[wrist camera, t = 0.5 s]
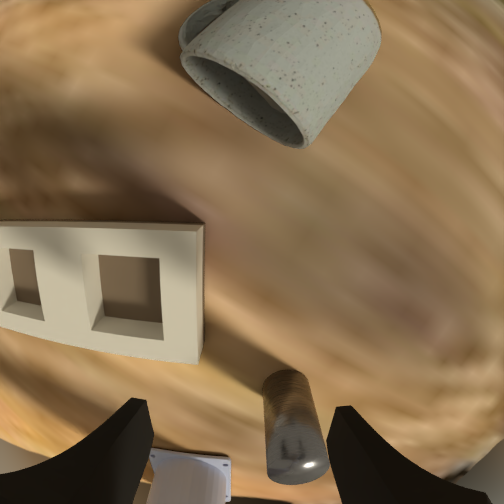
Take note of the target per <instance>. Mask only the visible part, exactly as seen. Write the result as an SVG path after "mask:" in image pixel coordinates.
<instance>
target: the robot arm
mask: <svg viewBox="0 0 504 504" xmlns="http://www.w3.org/2000/svg"><path fill="white" fill-rule="evenodd" d="M153 437H154V432H153V428H152V424H151V419H150V415H149V411H148V406H147V401H146V400H143V399H137V398H130V399H129V400H128V401H127V402H126V403H125V404H124V405H123V406H122V407H121V408H120V409H118V410H117V411H116V412H115V413H114V414H113V415H112V416H111V417H110V418H109V419H107V420H106V421H105V422H104V423H103V424H102V425H100V426H99V427H98V428H97V429H96V430H94V431H93V432H92V433H91V434H89V435H88V436H87V437H85V438H84V439H83V440H81V441H80V442H78V443H77V444H76V445H74V446H72V447H71V448H69V449H68V450H66V451H64V452H63V453H61V454H59V455H57V456H55V457H53V458H51V459H49V460H46V461H44V462H42V463H40V464H37V465H34V466H32V467H29V468H25V469H22V470H19V471H15V472H10V473H5V474H0V504H132V503H133V500H134V497H135V494H136V491H137V488H138V486H139V483H140V480H141V477H142V475H143V472H144V469H145V466H146V464H147V461H148V458H149V459H150V462H151V465H152V468H153V471H154V474H155V475H154V478H153V482H152V486H151V489H150V492H149V496H148V500H147V503H146V504H225V502H228V501H230V500H231V459H230V458H229V457H222V456H209V455H199V454H190V453H183V452H175V451H169V450H163V449H157V448H151V447H152V442H153ZM326 441H327V448H328V455H329V461H330V464H331V468H332V471H333V475H334V478H335V481H336V484H337V488H338V491H339V494H340V498H341V501H342V504H492V503H491V501H490V499H489V498H488V496H487V495H486V493H484V492H480V491H476V490H472V489H468V488H464V487H461V486H459V485H456V484H453V483H450V482H448V481H446V480H443V479H441V478H439V477H437V476H435V475H433V474H431V473H429V472H427V471H426V470H424V469H422V468H421V467H419V466H418V465H416V464H415V463H413V462H411V461H410V460H409V459H407V458H406V457H404V456H403V455H402V454H401V453H399V452H398V451H397V450H396V449H394V448H393V447H392V446H391V445H390V444H389V443H388V442H386V441H385V440H384V439H383V438H382V437H381V436H380V435H379V434H378V433H377V432H376V431H375V430H374V429H373V428H372V427H371V426H370V425H369V424H368V423H367V422H366V421H365V420H364V419H363V418H362V417H361V415H360V414H359V413H358V412H357V411H356V410H355V409H354V408H353V407H352V406H340V407H336V409H335V413H334V416H333V420H332V423H331V427H330V430H329V433H328V437H327V440H326Z"/></svg>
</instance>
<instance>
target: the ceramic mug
mask: <svg viewBox="0 0 504 504" xmlns="http://www.w3.org/2000/svg"><path fill="white" fill-rule="evenodd" d="M216 18H217V19H216ZM215 19H216V20H215ZM210 23H211V24H210ZM209 24H210V25H209ZM208 25H209V26H208ZM207 26H208V27H207ZM205 27H206V28H205ZM204 28H205V29H204ZM203 29H204V30H203ZM202 30H203V31H202ZM201 31H202V32H201ZM200 32H201V33H200ZM199 33H200V34H199ZM198 34H199V35H198ZM197 35H198V36H197ZM178 39H179V45H180V47H181V49H182V50H183V51H182V53H181V55H180V60H181V64H182V66H183V67H184V69H185V70H186V72H187V73H188V74H189V75H190V76H191V77H192V79H193V80H194V81H195V82H196V83H197V84H198V85H199V86H200V87H201V88H202V89H203V90H204V91H205V92H207V93H208V94H209V95H210V96H211V97H212V98H214V99H215V100H216V101H217V102H218V103H219V104H221V105H222V106H224V107H225V108H227V109H228V110H229V111H231V112H232V113H233V114H234V115H235V116H237V117H238V118H239V119H241V120H242V121H244V122H245V123H247V124H248V125H250V126H251V127H253V128H254V129H256V130H258V131H259V132H260V133H262V134H264V135H266V136H268V137H269V138H271V139H273V140H274V141H277V142H279V143H281V144H283V145H285V146H289V147H292V148H297V149H304V148H306V147H307V146H309V145H310V144H311V143H312V142H313V141H314V139H315V138H316V137H317V135H318V134H319V133H320V131H321V130H322V128H323V127H324V126H325V124H326V123H327V122H328V120H329V119H330V118H331V117H332V115H333V114H334V113H335V111H336V110H337V109H338V107H339V106H340V105H341V103H342V102H343V101H344V100H345V98H346V97H347V95H348V94H349V93H350V91H351V90H352V88H353V87H354V86H355V84H356V83H357V82H358V81H359V79H360V78H361V77H362V76H363V74H364V73H365V72H366V71H367V69H368V68H369V67H370V65H371V64H372V62H373V60H374V58H375V56H376V54H377V52H378V49H379V47H380V44H381V27H380V23H379V20H378V18H377V16H376V13H375V11H374V10H373V8H372V7H371V5H370V4H369V2H368V1H367V0H211V1H209V2H208V3H206V4H204V5H203V6H201V7H200V8H198V9H197V10H196V11H194V12H193V13H192V14H191V15H190V16H189V17H188V18H187V19H186V20H185V22H184V23H183V25H182V26H181V28H180V31H179V37H178Z"/></svg>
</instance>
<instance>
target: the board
mask: <svg viewBox="0 0 504 504" xmlns="http://www.w3.org/2000/svg"><path fill="white" fill-rule="evenodd" d="M204 257H205V223H187V222H157V221H117V220H0V327H4V328H7V329H10V330H13V331H17V332H20V333H24V334H27V335H31V336H35V337H39V338H42V339H46V340H50V341H54V342H59V343H63V344H67V345H72V346H76V347H81V348H86V349H91V350H96V351H101V352H107V353H112V354H118V355H124V356H130V357H137V358H144V359H151V360H159V361H167V362H176V363H185V364H196V365H198V364H199V360H200V356H201V352H202V349H203V345H204V341H205V327H204Z"/></svg>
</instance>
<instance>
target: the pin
mask: <svg viewBox="0 0 504 504" xmlns="http://www.w3.org/2000/svg"><path fill="white" fill-rule="evenodd" d="M263 404H264V422H265V441H266V460H267V474H268V477H269V478H270V479H271V480H272V481H274V482H277V483H280V484H285V485H297V484H303V483H307V482H311V481H313V480H316V479H318V478H319V477H321V476H322V475H324V474H325V473H326V472H327V470H328V469H329V466H330V463H329V459H328V455H327V451H326V447H325V443H324V440H323V436H322V432H321V428H320V424H319V420H318V416H317V412H316V409H315V405H314V401H313V397H312V394H311V390H310V386H309V382H308V379H307V378H306V376H305V375H303V374H302V373H300V372H298V371H295V370H282V371H278V372H276V373H274V374H272V375H270V376H269V377H268V378H267V379H266V380H265V382H264V384H263Z"/></svg>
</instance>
